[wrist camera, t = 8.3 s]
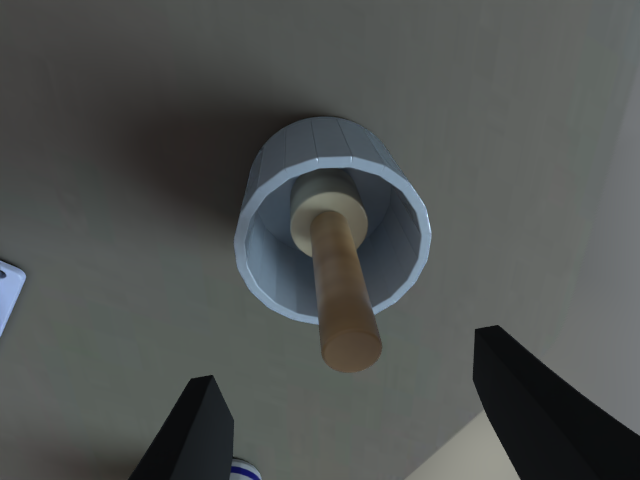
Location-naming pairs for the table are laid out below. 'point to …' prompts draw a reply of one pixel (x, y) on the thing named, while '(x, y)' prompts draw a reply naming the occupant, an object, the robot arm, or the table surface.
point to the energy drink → (243, 471)
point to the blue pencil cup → (378, 200)
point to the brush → (336, 265)
